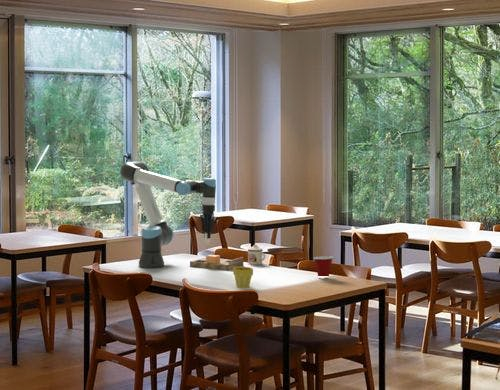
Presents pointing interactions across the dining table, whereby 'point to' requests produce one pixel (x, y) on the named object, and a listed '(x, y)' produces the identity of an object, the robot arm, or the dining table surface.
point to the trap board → (218, 264)
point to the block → (213, 259)
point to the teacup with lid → (255, 255)
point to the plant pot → (243, 276)
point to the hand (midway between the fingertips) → (207, 243)
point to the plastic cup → (323, 265)
